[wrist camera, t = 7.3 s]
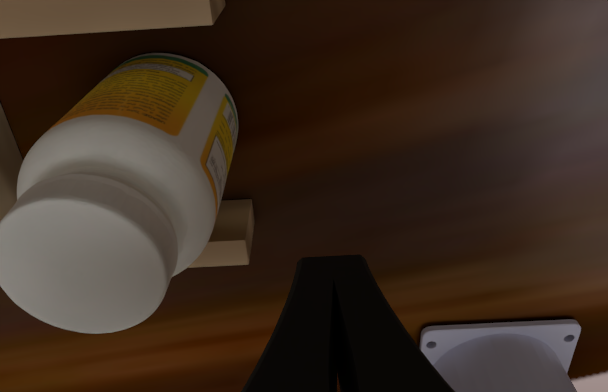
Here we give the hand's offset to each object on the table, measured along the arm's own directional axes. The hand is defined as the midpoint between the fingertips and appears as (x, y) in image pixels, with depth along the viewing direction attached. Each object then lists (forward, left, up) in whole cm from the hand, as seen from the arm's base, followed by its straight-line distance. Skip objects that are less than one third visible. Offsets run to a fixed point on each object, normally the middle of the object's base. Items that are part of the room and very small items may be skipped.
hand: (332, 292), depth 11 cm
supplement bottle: (0, +6, -11) cm, 12 cm away
